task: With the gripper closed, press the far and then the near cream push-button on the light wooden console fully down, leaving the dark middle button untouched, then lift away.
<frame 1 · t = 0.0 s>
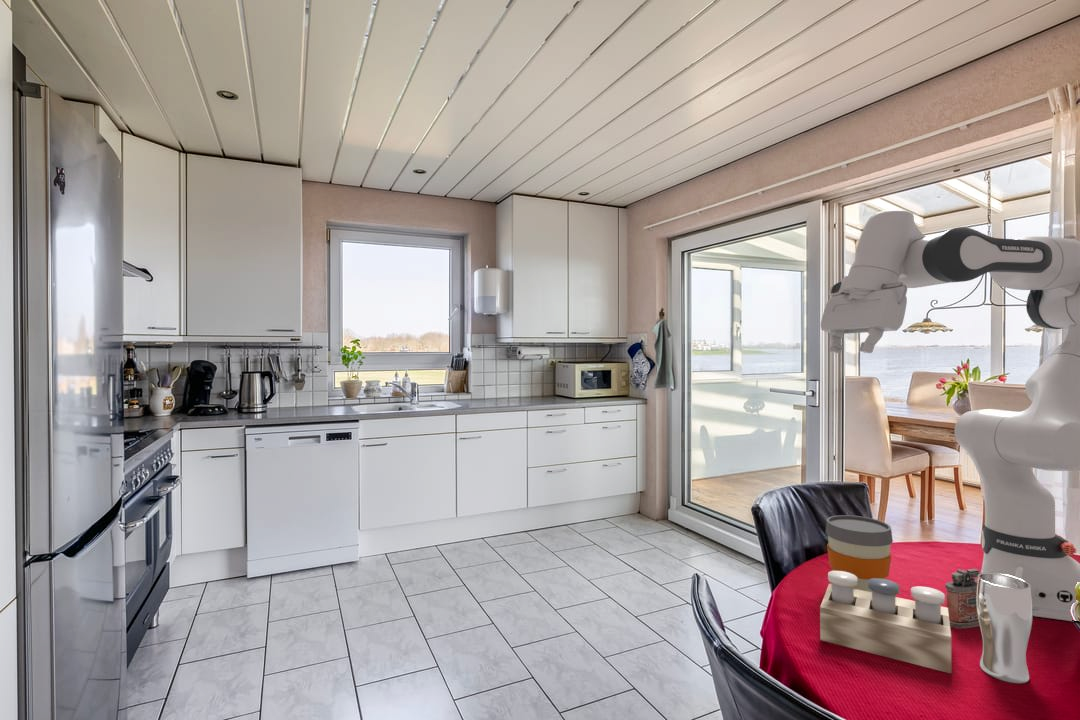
hand: (849, 352, 110), 52 cm above the table, tool tilted 20°, fingers open, 8 cm apart
plunger near: (927, 611, 95), point 7 cm above the table, slide at 0.0 cm
console: (883, 640, 99), on the table
lighter: (965, 623, 105), on the table
reusable coffee cup: (858, 593, 118), on the table
beer glass: (1004, 673, 88), on the table
plunger middle: (883, 602, 98), point 7 cm above the table, slide at 0.0 cm
plunger far: (842, 593, 102), point 7 cm above the table, slide at 0.0 cm
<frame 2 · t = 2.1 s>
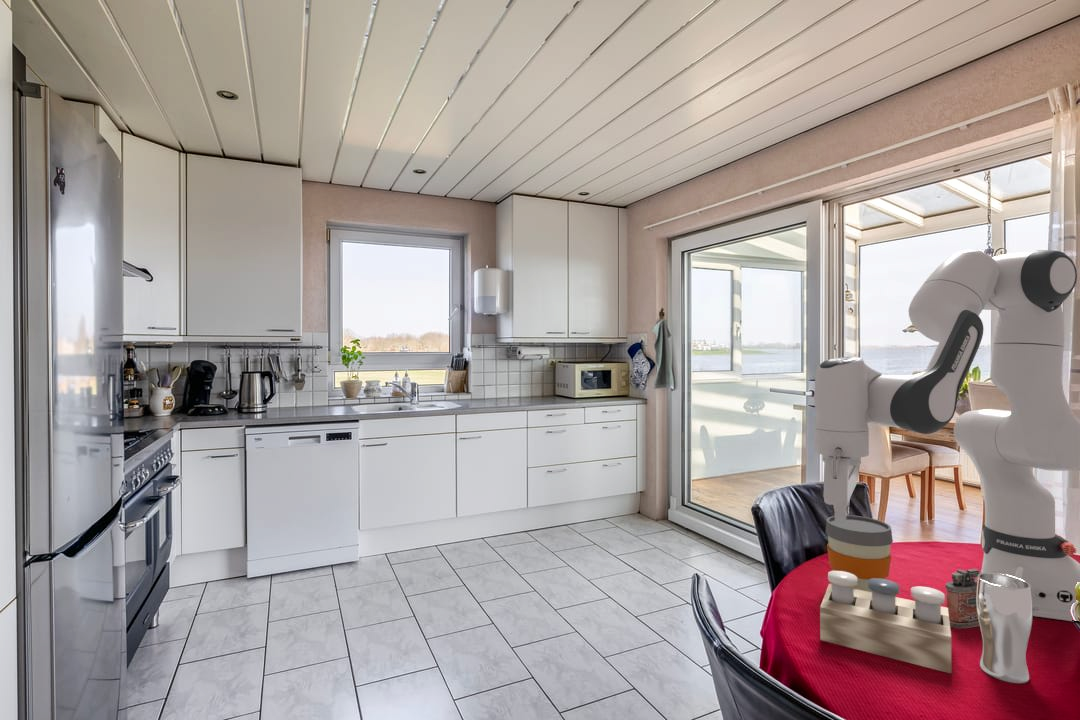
hand: (841, 518, 102), 21 cm above the table, tool pointing down, fingers open, 3 cm apart
nothing on the table moved.
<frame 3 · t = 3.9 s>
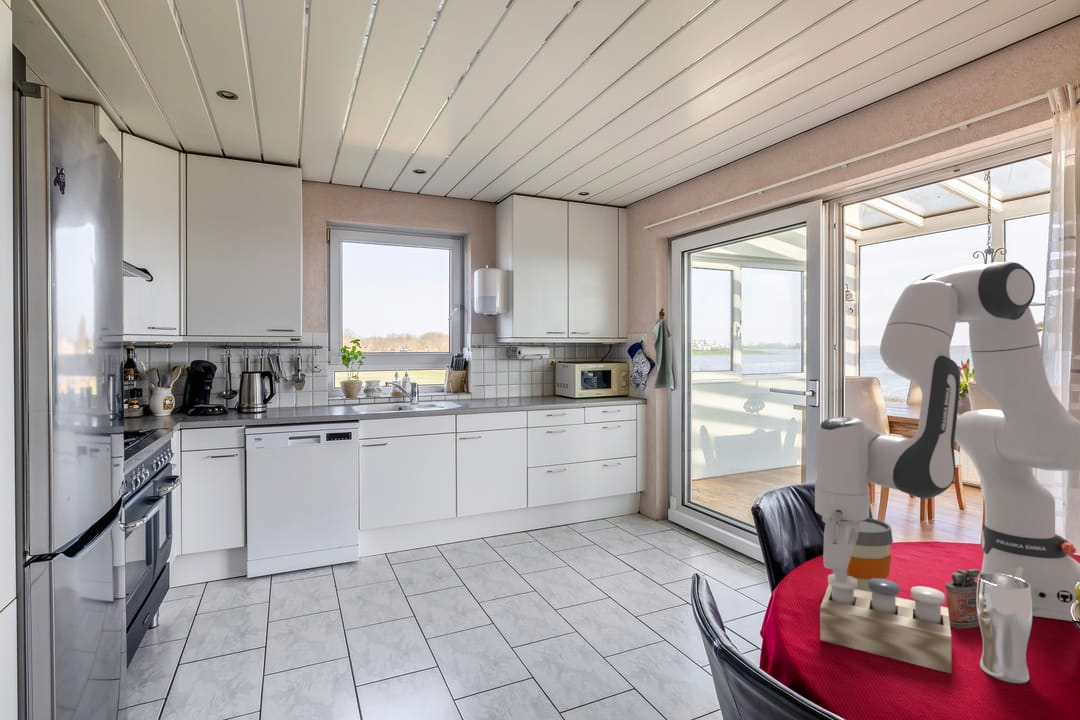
hand: (841, 578, 102), 10 cm above the table, tool pointing down, fingers closed, pressing on plunger far
plunger far: (842, 596, 102), point 6 cm above the table, slide at 0.6 cm, touching gripper
everything else where it was.
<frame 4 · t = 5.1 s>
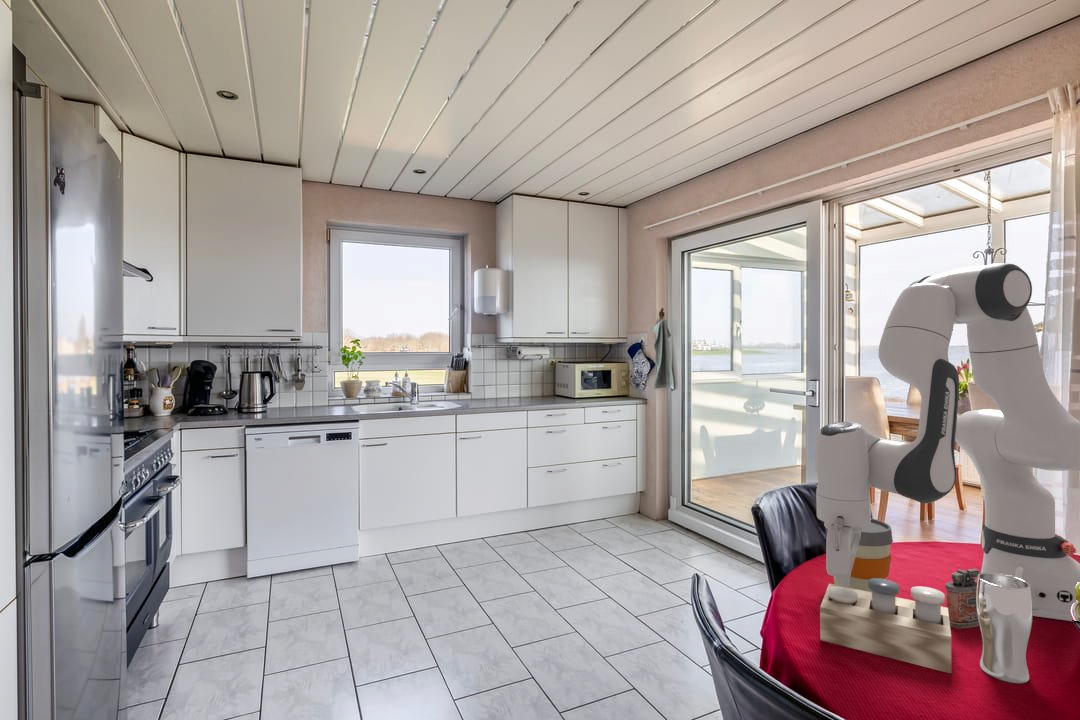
hand: (844, 583, 102), 9 cm above the table, tool pointing down, fingers closed
plunger far: (842, 610, 102), point 4 cm above the table, slide at 3.1 cm
everything else where it was.
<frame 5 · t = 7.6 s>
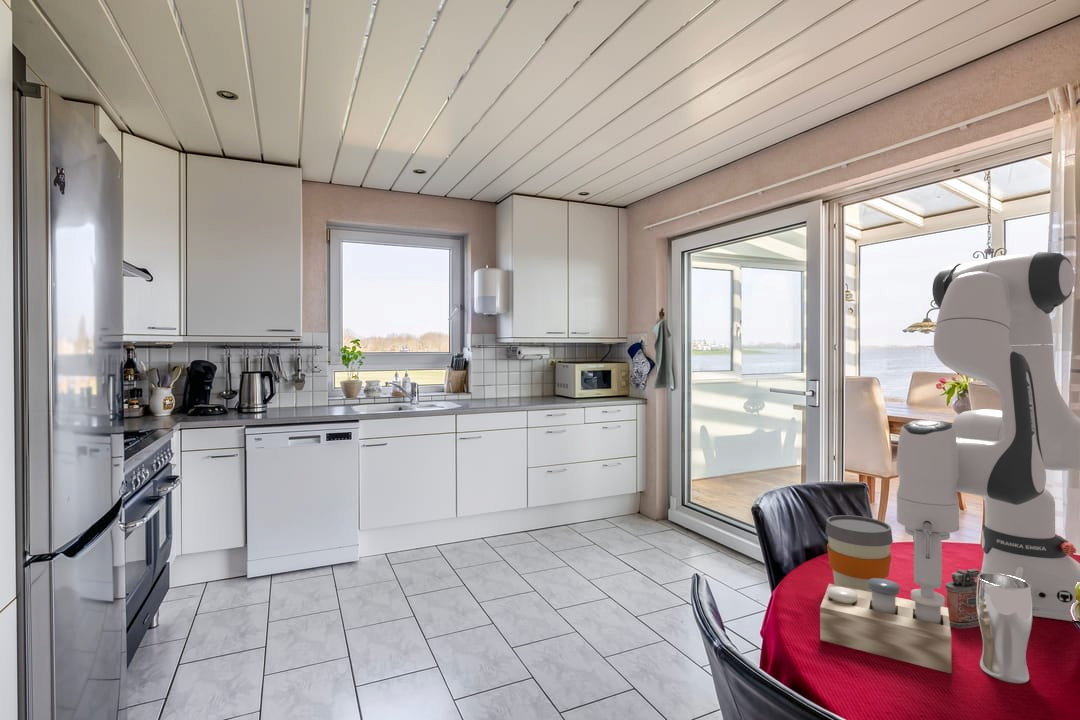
hand: (927, 594, 95), 10 cm above the table, tool pointing down, fingers closed, pressing on plunger near
plunger near: (927, 614, 95), point 6 cm above the table, slide at 0.5 cm, touching gripper
everything else where it was.
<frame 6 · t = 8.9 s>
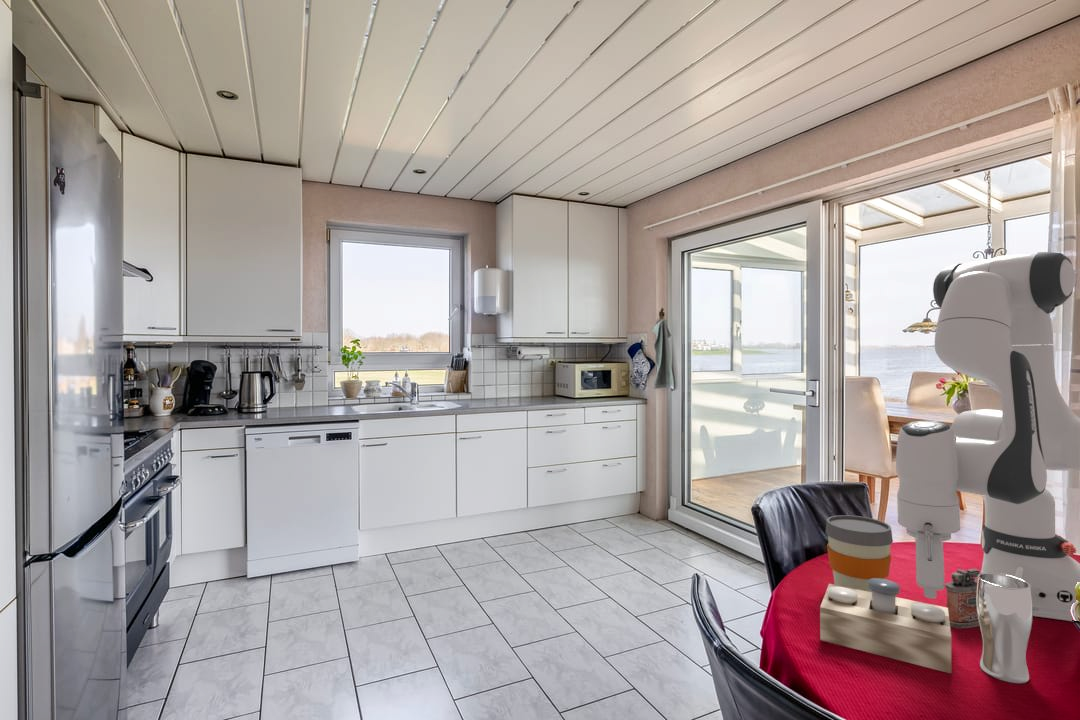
hand: (930, 595, 95), 10 cm above the table, tool pointing down, fingers closed
plunger near: (927, 629, 95), point 4 cm above the table, slide at 3.1 cm
everything else where it was.
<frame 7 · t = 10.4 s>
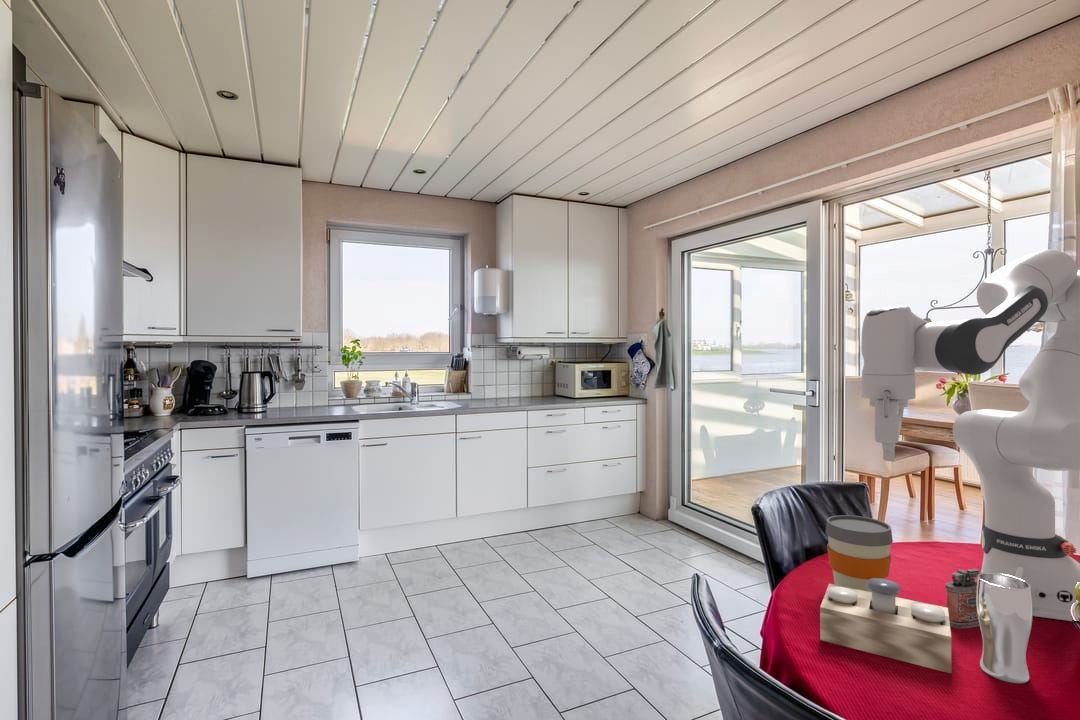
hand: (889, 459, 107), 31 cm above the table, tool pointing down, fingers closed
nothing on the table moved.
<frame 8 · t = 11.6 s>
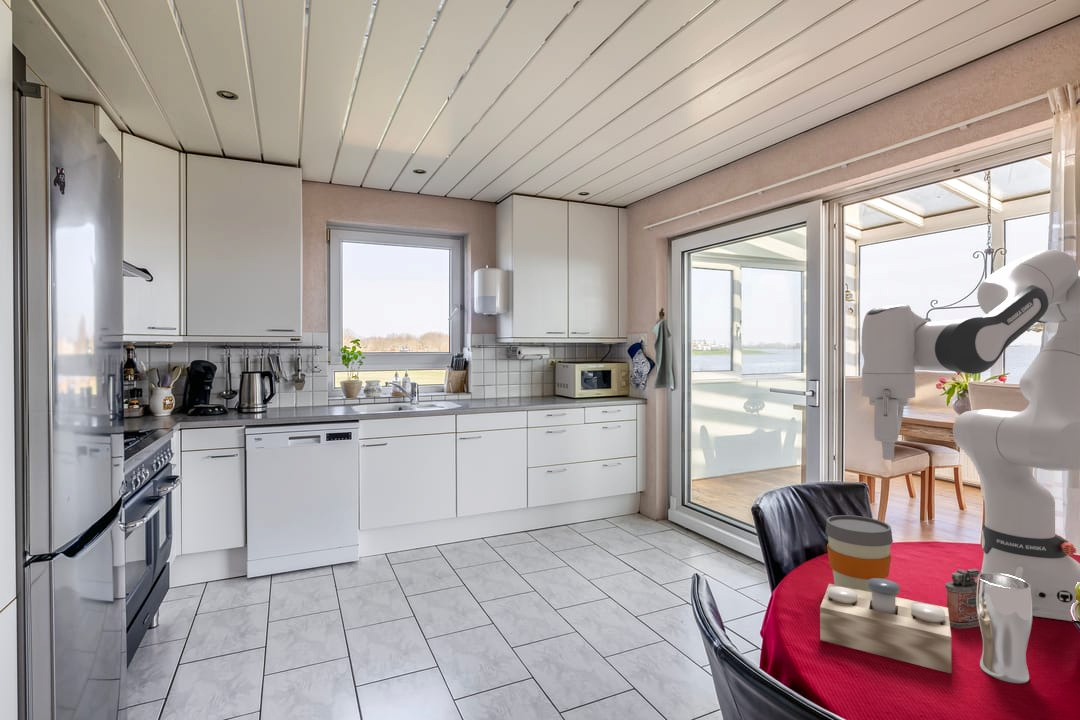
hand: (888, 458, 107), 31 cm above the table, tool pointing down, fingers closed
nothing on the table moved.
at the end: plunger far slide at 3.1 cm; plunger near slide at 3.1 cm; plunger middle slide at 0.0 cm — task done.
